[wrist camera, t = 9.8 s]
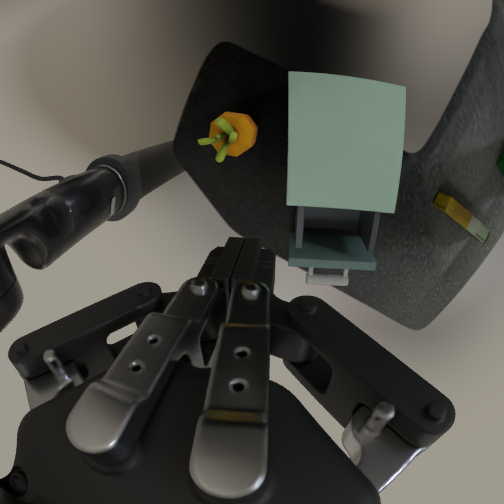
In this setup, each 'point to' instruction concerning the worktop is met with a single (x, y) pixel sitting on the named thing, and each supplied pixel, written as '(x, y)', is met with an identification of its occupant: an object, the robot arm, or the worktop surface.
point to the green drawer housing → (344, 142)
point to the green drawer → (333, 242)
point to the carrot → (231, 134)
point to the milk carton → (501, 163)
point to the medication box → (461, 217)
